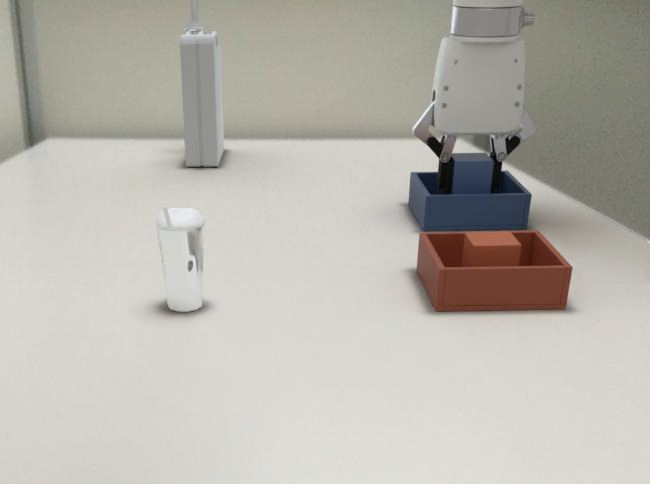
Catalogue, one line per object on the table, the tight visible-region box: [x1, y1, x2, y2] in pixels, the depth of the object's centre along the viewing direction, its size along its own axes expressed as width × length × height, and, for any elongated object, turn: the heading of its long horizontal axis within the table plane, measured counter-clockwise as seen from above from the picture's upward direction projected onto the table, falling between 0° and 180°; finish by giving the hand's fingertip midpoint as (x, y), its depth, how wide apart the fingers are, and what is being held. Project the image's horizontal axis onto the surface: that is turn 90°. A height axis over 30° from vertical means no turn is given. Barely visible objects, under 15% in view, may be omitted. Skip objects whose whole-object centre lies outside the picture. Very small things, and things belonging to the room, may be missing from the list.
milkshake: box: [155, 207, 206, 313], centre depth 90 cm, size 4×5×10 cm
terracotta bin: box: [415, 229, 573, 312], centre depth 95 cm, size 12×12×4 cm
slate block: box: [451, 152, 494, 194], centre depth 116 cm, size 4×4×4 cm
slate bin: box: [407, 169, 533, 232], centre depth 117 cm, size 12×12×4 cm
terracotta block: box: [461, 231, 521, 267], centre depth 94 cm, size 4×4×4 cm
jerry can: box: [179, 0, 225, 168], centre depth 143 cm, size 15×5×25 cm, turn 177°
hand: (467, 192), depth 117 cm, fingers closed on slate block, 4 cm apart
